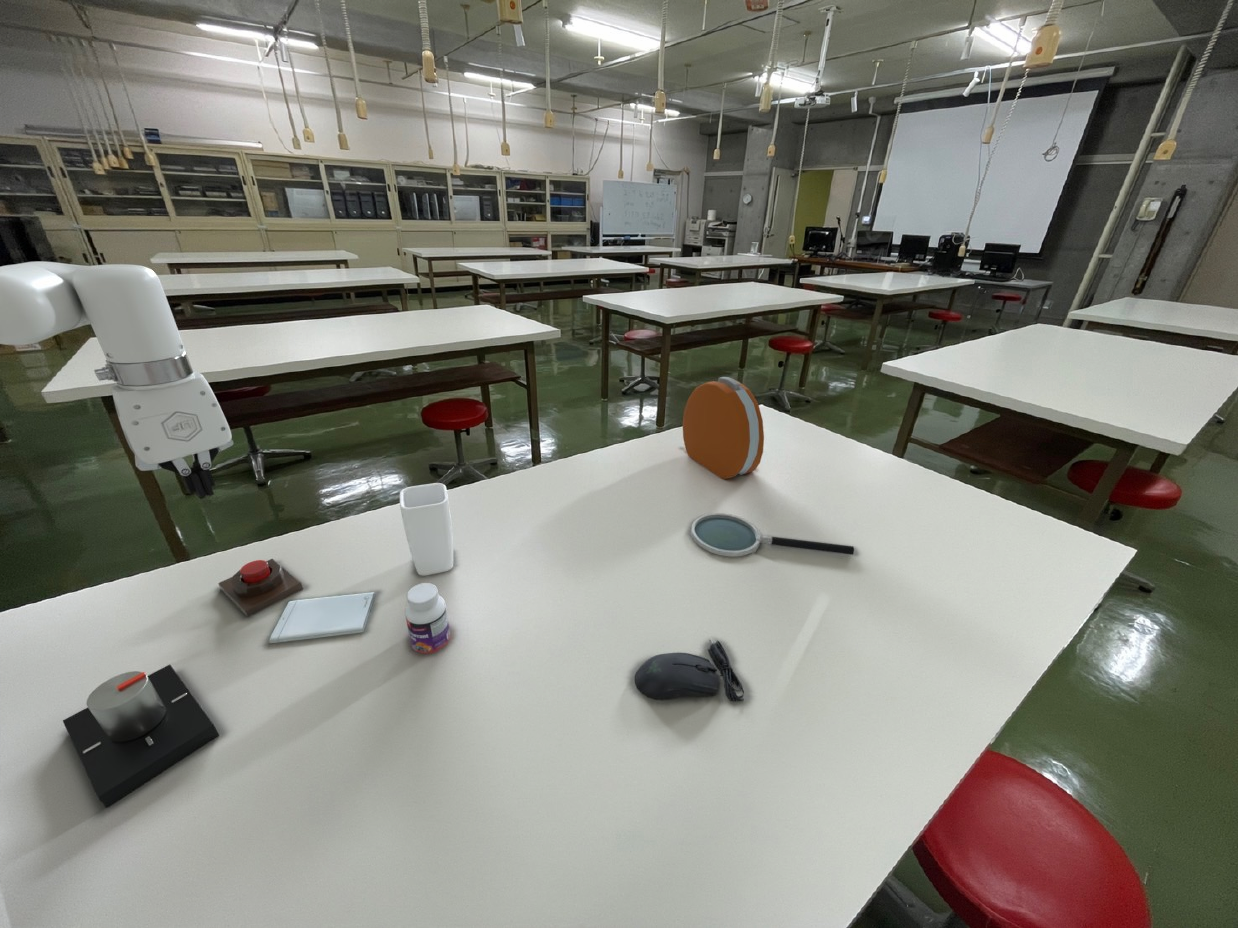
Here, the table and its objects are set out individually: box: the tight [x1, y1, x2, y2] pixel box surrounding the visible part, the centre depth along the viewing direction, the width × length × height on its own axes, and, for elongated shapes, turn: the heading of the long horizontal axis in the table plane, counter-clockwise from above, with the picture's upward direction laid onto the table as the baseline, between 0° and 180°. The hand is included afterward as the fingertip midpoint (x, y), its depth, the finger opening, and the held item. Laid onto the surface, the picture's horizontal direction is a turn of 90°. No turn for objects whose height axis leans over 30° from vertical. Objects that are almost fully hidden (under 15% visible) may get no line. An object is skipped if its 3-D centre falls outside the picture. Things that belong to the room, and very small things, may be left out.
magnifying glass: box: [690, 512, 855, 558], centre depth 97 cm, size 13×31×2 cm, turn 81°
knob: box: [86, 670, 166, 742], centre depth 56 cm, size 5×5×6 cm
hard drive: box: [268, 591, 376, 644], centre depth 76 cm, size 2×8×12 cm
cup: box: [399, 482, 454, 576], centre depth 85 cm, size 7×7×15 cm
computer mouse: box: [634, 637, 745, 703], centre depth 68 cm, size 10×15×4 cm
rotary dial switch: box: [62, 664, 220, 809], centre depth 58 cm, size 14×10×3 cm
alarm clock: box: [682, 376, 765, 480], centre depth 123 cm, size 22×10×23 cm, turn 30°
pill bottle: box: [404, 582, 451, 654], centre depth 71 cm, size 5×5×10 cm
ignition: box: [217, 558, 304, 618], centre depth 80 cm, size 10×8×4 cm
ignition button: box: [239, 559, 270, 583], centre depth 79 cm, size 4×4×2 cm
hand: (203, 493), depth 72 cm, fingers closed
